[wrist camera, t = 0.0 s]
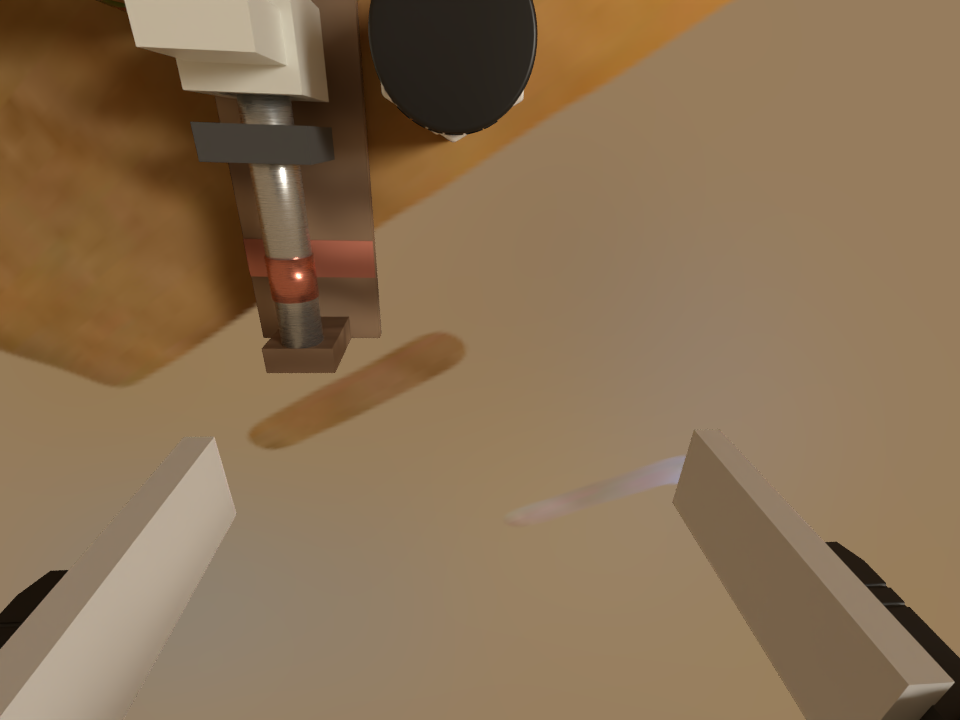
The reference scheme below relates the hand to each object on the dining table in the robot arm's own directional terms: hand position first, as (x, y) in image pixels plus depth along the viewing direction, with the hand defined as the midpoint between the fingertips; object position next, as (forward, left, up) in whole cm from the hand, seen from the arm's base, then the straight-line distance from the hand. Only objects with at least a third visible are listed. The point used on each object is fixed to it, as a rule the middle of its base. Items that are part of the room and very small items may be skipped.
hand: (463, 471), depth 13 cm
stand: (-5, -11, -28) cm, 31 cm away
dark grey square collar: (-8, -11, -25) cm, 29 cm away
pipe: (-5, -11, -24) cm, 27 cm away
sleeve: (-13, -11, -25) cm, 30 cm away
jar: (-13, 0, -28) cm, 31 cm away
